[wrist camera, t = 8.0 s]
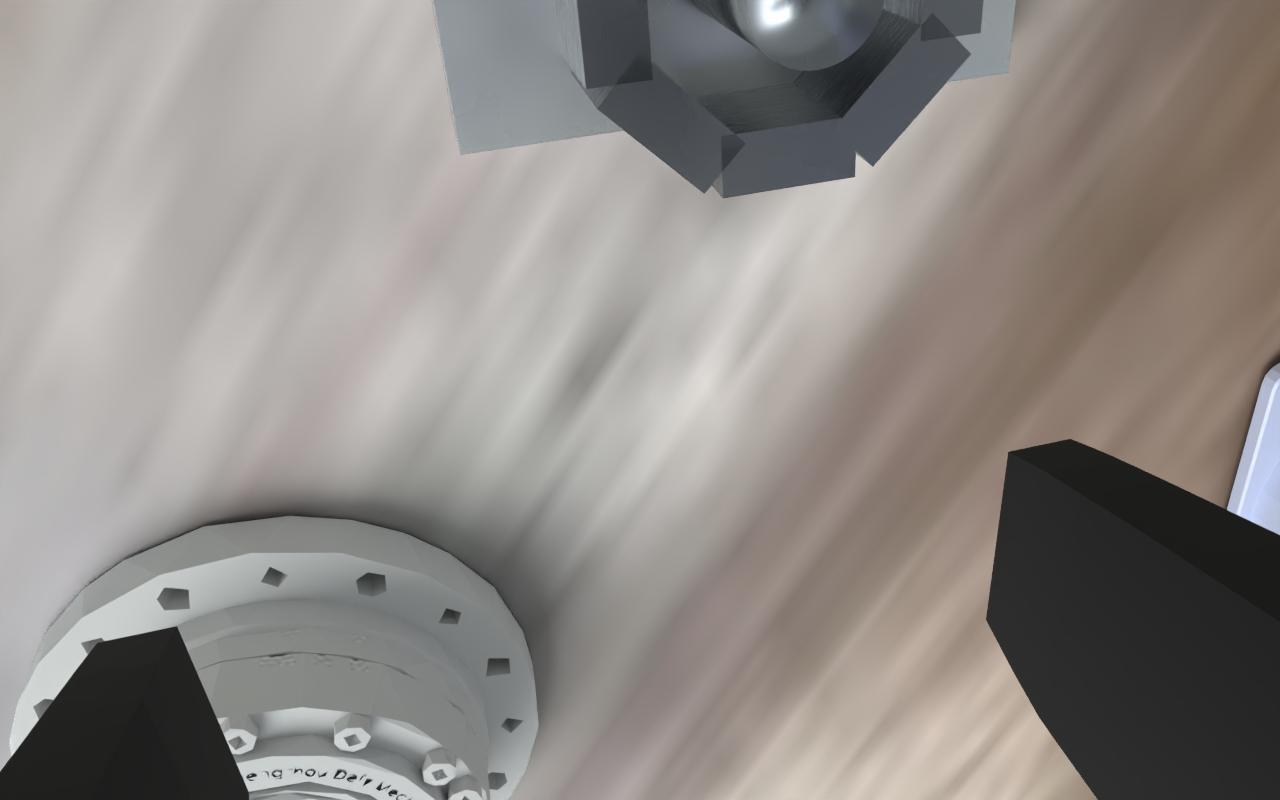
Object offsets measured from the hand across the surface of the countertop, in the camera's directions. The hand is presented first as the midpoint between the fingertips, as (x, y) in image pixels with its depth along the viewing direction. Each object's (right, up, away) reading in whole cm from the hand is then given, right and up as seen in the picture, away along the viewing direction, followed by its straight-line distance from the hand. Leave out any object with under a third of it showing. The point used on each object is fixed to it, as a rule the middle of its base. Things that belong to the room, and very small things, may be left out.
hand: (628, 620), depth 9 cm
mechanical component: (-7, -4, +13) cm, 16 cm away
